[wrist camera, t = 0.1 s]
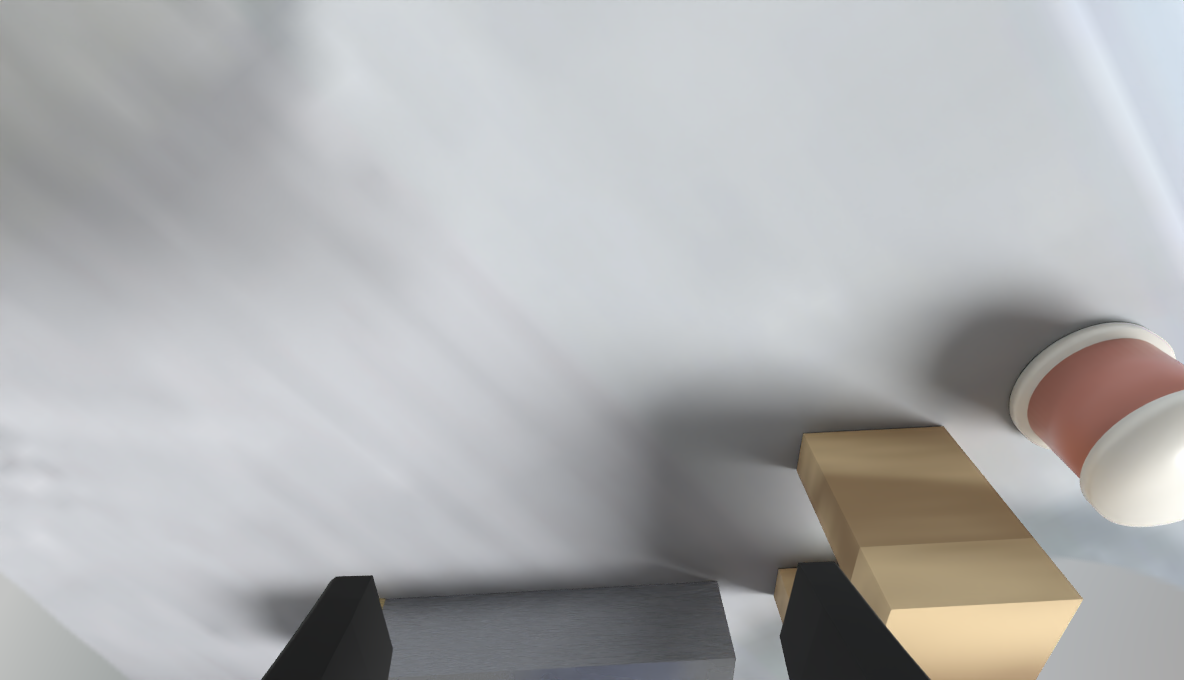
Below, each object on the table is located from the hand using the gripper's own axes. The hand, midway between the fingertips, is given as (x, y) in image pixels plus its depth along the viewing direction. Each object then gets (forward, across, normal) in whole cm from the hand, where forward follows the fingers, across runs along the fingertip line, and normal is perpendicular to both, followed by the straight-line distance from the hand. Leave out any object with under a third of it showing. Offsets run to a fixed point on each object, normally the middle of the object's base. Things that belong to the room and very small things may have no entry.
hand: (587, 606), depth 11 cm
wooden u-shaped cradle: (+10, -10, +9) cm, 17 cm away
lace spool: (+10, -17, +3) cm, 20 cm away
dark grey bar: (+10, +2, +15) cm, 18 cm away
